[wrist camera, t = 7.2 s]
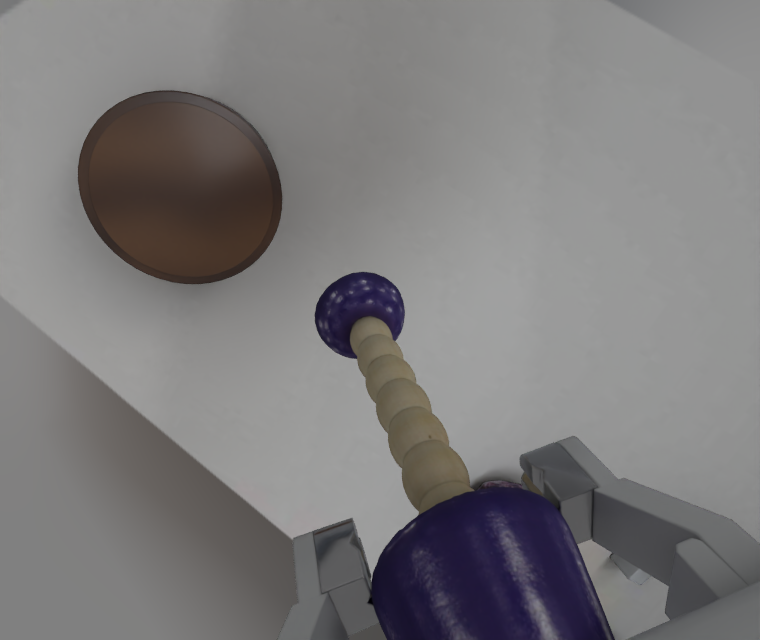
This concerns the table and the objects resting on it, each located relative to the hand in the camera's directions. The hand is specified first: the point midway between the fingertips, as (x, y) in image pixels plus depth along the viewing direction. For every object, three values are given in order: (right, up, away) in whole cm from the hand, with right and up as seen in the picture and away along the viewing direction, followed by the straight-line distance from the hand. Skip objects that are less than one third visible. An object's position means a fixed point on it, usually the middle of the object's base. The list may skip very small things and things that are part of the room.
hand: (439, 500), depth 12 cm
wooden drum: (-15, +15, +22) cm, 30 cm away
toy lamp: (-3, +5, +10) cm, 11 cm away
